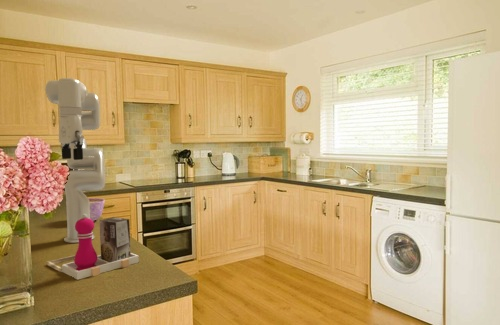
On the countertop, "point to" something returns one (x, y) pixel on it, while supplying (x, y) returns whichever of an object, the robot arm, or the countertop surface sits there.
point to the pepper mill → (85, 244)
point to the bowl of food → (96, 208)
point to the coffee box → (115, 239)
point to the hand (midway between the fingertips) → (72, 159)
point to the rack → (98, 267)
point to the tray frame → (52, 263)
